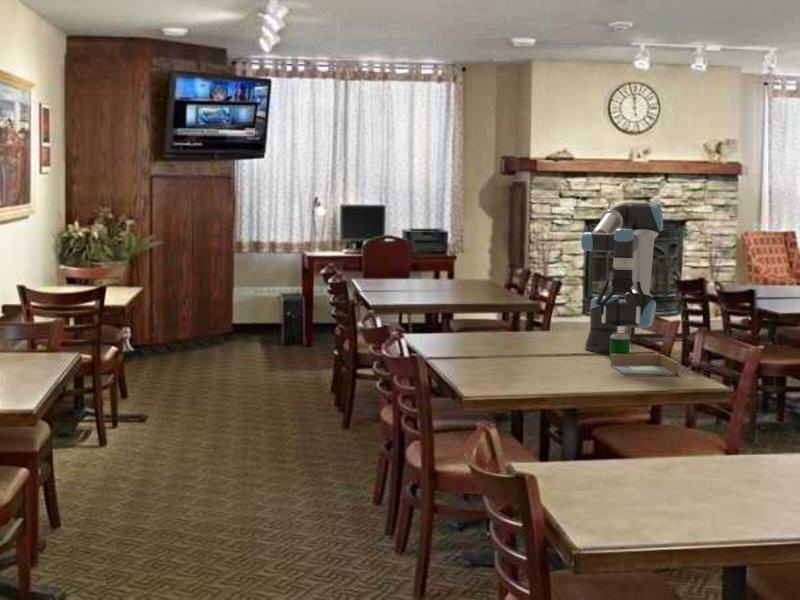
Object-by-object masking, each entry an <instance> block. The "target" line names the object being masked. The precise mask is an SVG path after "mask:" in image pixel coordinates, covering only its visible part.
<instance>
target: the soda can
mask: <svg viewBox="0 0 800 600" xmlns="http://www.w3.org/2000/svg"><path fill="white" fill-rule="evenodd" d="M630 346H631V336H630V335H629V334H628V333H625V332H618V333H613V334H612V335H611V336H610V352H609V362H610V363H611V354H631V351H630V349H631V347H630Z"/></svg>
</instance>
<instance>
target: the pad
mask: <svg viewBox="0 0 800 600" xmlns="http://www.w3.org/2000/svg"><path fill="white" fill-rule="evenodd" d="M627 367H629V368H631V369H632V370H634V371H661V370H659V369H657V368H656V367H654V366H627Z"/></svg>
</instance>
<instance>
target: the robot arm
mask: <svg viewBox="0 0 800 600" xmlns="http://www.w3.org/2000/svg"><path fill="white" fill-rule="evenodd" d="M663 230H664V217H663V209H662V207H661V205H660V204H659V203H651V202H622V203H618V204H615V205H612V206H610V207H608V208H607V209H606V210H605V211H604V212H603V213H602V214H601V216H600V221H599V223H598V224H597V225H596V226H595V228H594V229H593V231H592V232H591V231H587V232H583V233H582V234H581V241H580V242H581V249H582V250H583V251H585V252H586V251H587V252H588V251H589V252H608V253H613V259H612V260H613V261H612V267H613V269H612V280H611V281H608V280H605V281H603V286H602V289H601V290H600V292H599V294H598V296H595V297H593V298H592V299H591V300H590V308H589V310H590V314H589V316H590V317H589V318H590V319H589V332H588V336H587V337H586V338H587V339H586V341H585V343H584V345H585V346H584V350H586V351H589V352H594V353H595V352H596V353H610V336H611V335H612V334H613V333H619V332H618V330H619V329H618V328H619V327H622V328H623V327H624V328H638V329H642V328H643V329H647V328H650V327H652V325H653V322H654V319H655V316H656V309H657V303H656V301H655V300H654V299H653V298H654V297H653V295H652V294H651V293H650V290H651V280H652V269H653V260H654V247H655V239H656V238H658V236H659V233H660V232H662V231H663ZM610 286H612V289H610V291H609V292H608V294H607V295H605V294H606V293H607V291H608V289H609V287H610ZM616 293H617V294H621V293H622V294H623V293H624V298H623V299H622V298H620V297H619V295H617V294H616ZM615 294H616V295H615Z"/></svg>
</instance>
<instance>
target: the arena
mask: <svg viewBox="0 0 800 600" xmlns="http://www.w3.org/2000/svg"><path fill="white" fill-rule="evenodd" d="M627 366H654V367H656V368H657V369H659V370H661V371H634V370H632V369H631V368H629V367H627ZM679 367H680V363H679V362H678V361H677V360H674V359H672V358H671V357H669V356H666V355H665V354H662V353H660V354H659V353H630V354H611V362H610V368H612V369H614V370H615V371H617V372H619V373H620V374H621V375H623V376H624V377H631V376H633V377H635V376H636V377H655V376H654V375H665V376H664V377H679Z"/></svg>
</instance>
